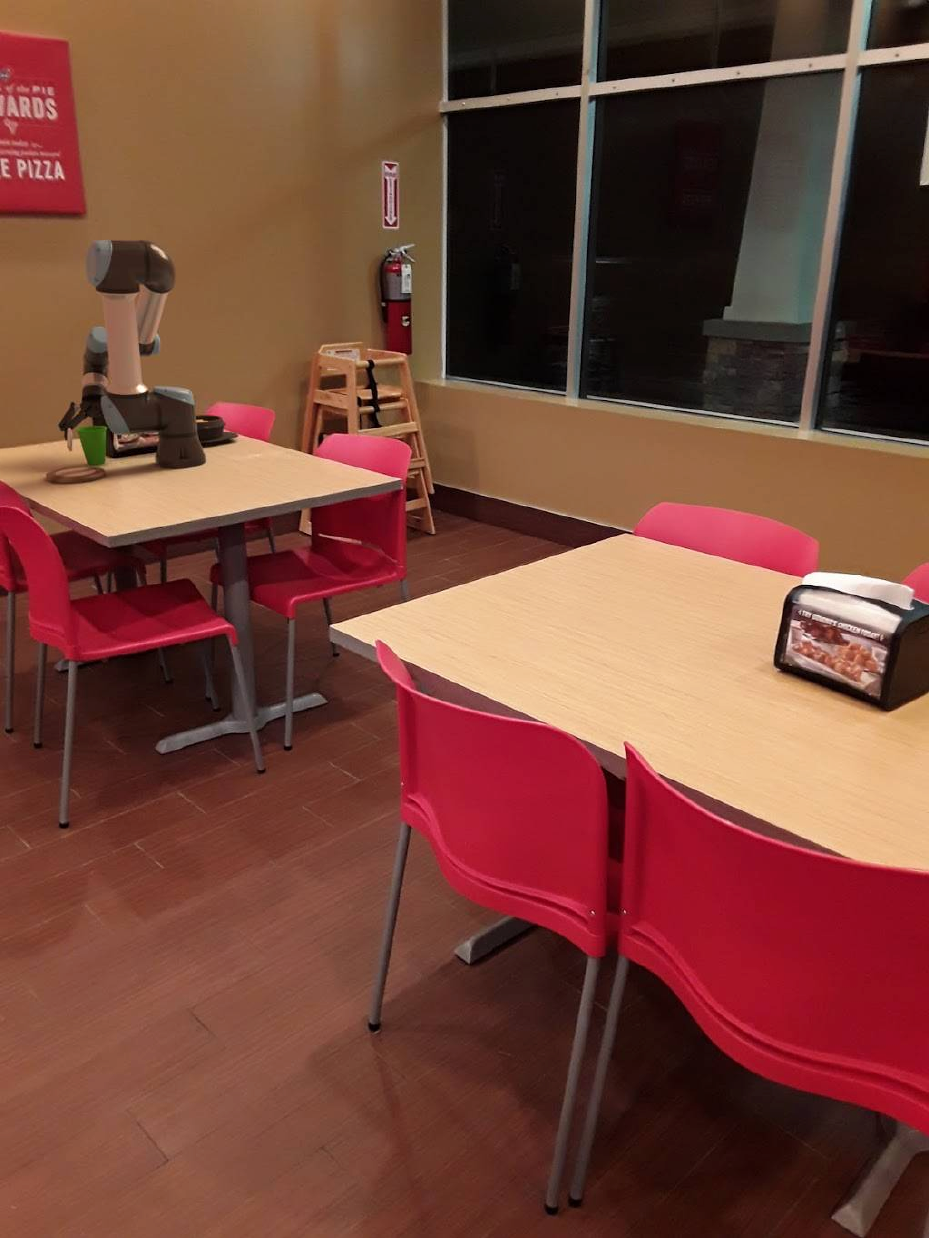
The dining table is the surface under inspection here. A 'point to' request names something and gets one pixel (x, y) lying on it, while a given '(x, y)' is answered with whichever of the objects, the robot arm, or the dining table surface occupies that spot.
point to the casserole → (212, 430)
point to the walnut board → (75, 475)
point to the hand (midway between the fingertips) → (92, 447)
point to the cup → (93, 444)
